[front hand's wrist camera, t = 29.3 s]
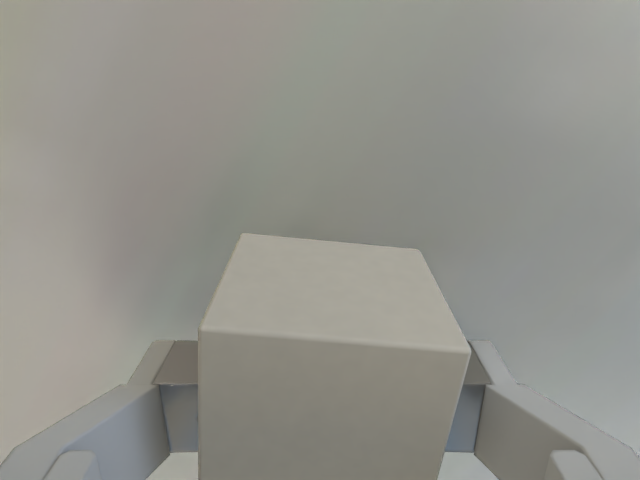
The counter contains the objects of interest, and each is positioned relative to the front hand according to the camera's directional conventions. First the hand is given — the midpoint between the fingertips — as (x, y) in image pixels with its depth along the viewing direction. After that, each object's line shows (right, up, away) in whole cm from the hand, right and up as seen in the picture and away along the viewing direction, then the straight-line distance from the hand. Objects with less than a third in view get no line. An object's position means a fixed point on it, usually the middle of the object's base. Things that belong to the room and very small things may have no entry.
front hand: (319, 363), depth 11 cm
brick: (0, +1, +2) cm, 2 cm away
